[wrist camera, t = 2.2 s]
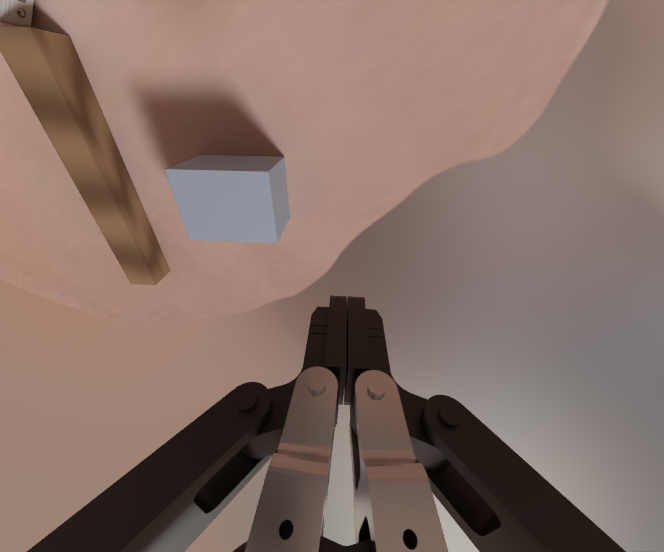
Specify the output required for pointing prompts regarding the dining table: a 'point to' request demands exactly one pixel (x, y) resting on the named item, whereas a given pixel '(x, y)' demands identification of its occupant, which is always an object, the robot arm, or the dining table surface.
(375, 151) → the dining table surface
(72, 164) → the board
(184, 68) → the dining table surface
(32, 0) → the skincare box
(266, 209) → the block
